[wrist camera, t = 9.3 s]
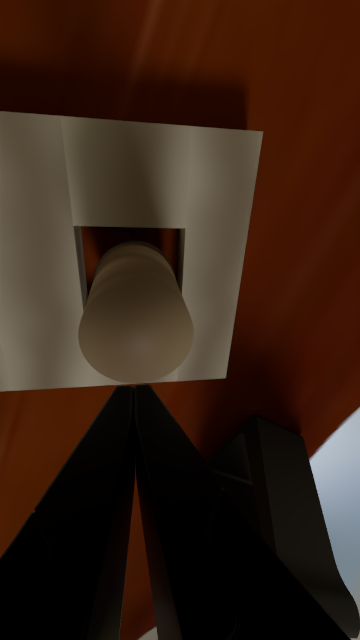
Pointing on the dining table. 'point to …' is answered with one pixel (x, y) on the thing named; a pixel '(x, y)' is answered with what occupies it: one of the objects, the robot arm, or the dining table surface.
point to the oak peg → (135, 316)
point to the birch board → (115, 211)
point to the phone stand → (285, 510)
